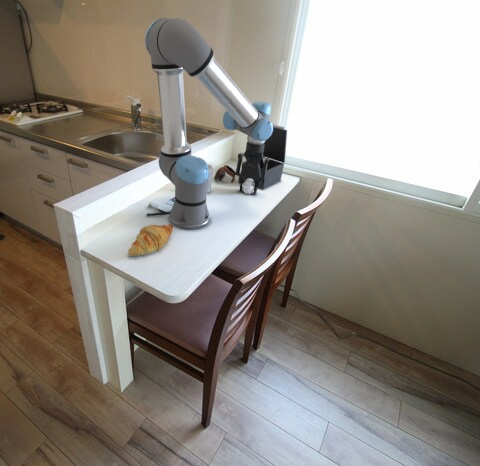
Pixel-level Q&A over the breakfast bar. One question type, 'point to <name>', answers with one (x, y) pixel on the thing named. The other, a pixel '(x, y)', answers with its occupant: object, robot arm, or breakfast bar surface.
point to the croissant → (150, 239)
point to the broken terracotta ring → (223, 171)
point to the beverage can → (209, 178)
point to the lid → (276, 144)
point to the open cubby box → (271, 175)
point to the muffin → (248, 186)
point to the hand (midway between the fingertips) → (247, 192)
